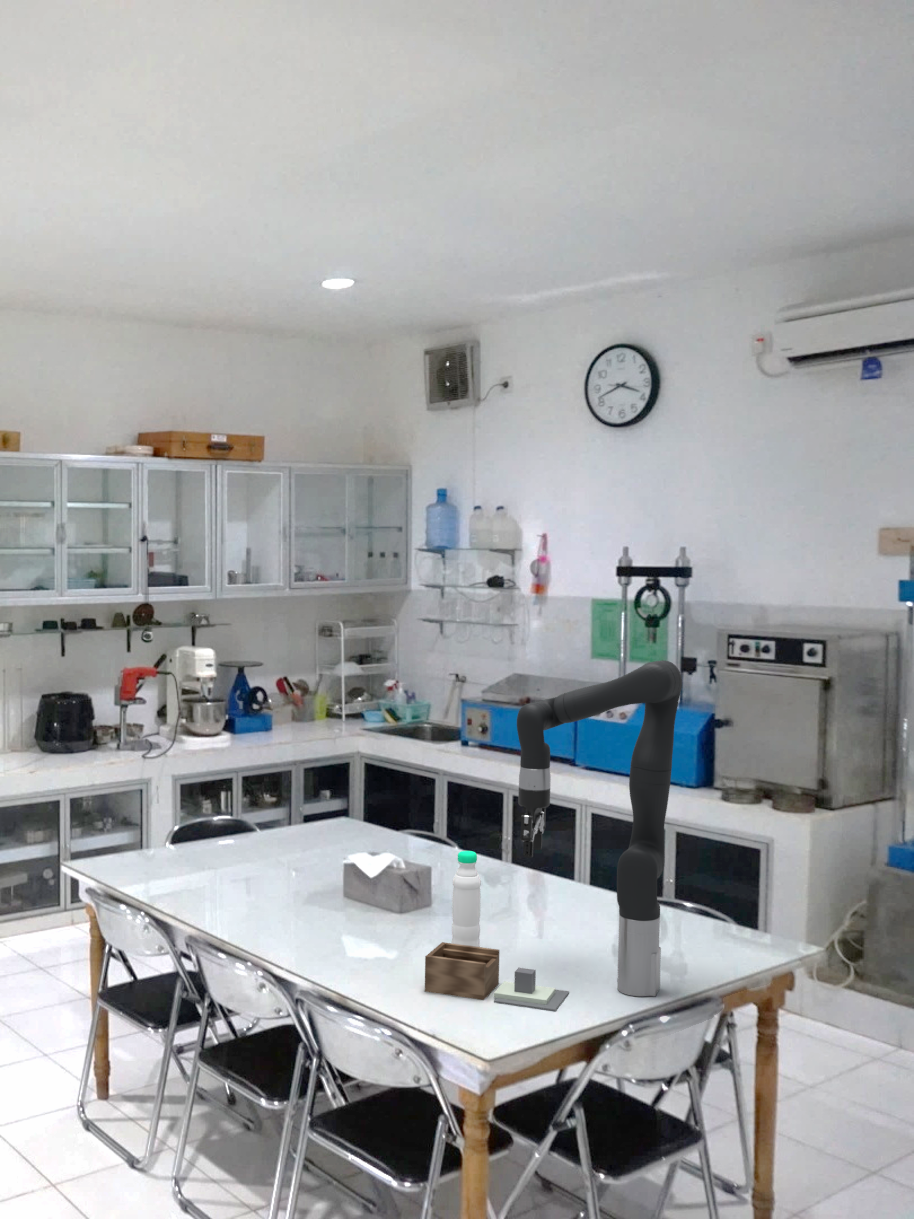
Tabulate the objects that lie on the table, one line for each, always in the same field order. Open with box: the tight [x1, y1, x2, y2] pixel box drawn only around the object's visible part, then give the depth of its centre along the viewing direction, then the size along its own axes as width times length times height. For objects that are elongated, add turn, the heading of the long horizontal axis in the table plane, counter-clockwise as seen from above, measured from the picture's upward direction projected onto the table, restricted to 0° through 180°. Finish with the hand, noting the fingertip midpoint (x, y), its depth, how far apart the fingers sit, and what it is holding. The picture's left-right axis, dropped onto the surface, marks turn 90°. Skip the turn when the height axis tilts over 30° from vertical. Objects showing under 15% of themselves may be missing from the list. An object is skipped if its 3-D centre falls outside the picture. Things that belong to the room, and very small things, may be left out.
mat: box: [493, 988, 570, 1012], centre depth 272 cm, size 14×12×1 cm
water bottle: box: [451, 850, 482, 947], centre depth 302 cm, size 7×7×25 cm
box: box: [424, 941, 500, 1001], centre depth 278 cm, size 14×11×8 cm
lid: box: [493, 967, 556, 1005], centre depth 273 cm, size 12×8×6 cm, turn 71°
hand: (532, 853), depth 291 cm, fingers open, 8 cm apart
